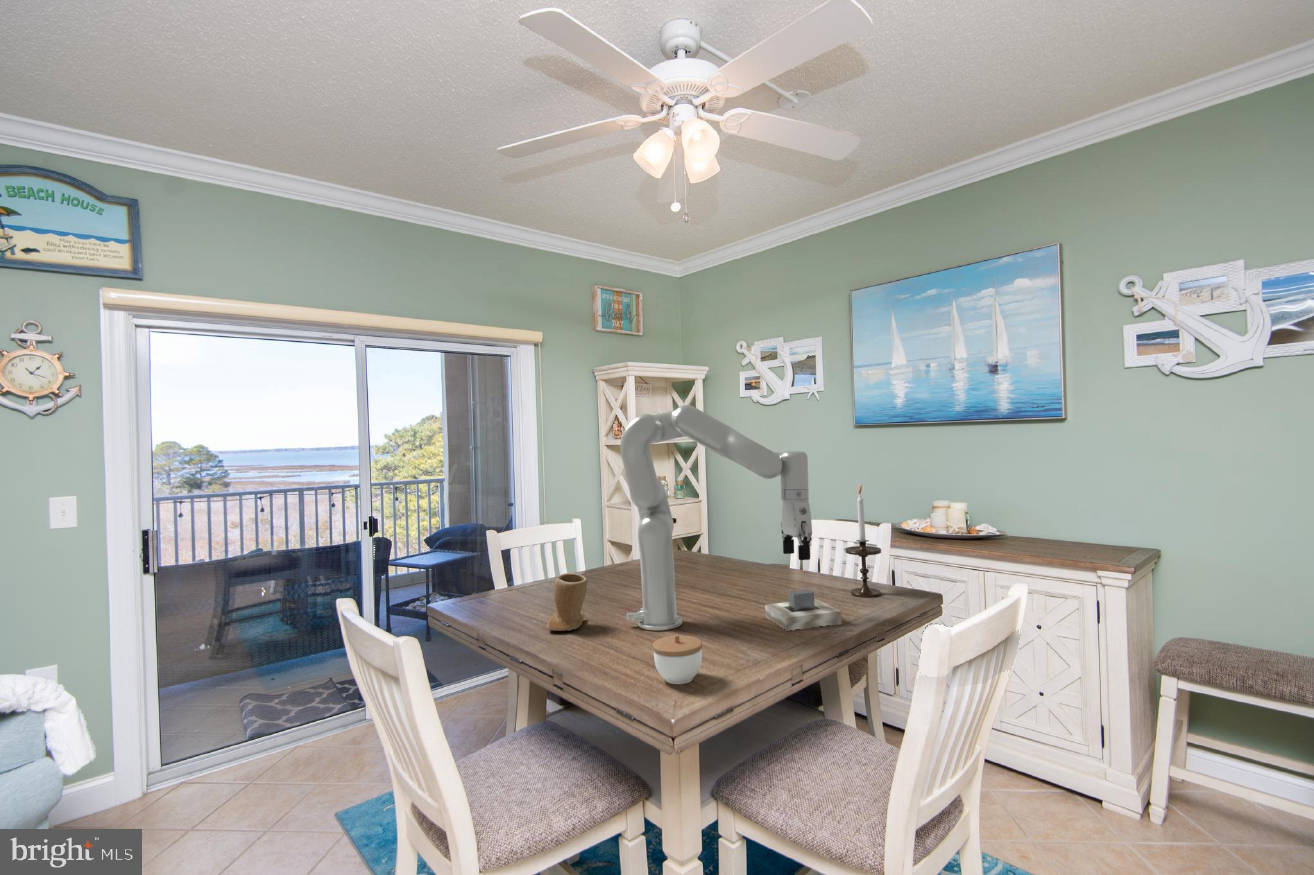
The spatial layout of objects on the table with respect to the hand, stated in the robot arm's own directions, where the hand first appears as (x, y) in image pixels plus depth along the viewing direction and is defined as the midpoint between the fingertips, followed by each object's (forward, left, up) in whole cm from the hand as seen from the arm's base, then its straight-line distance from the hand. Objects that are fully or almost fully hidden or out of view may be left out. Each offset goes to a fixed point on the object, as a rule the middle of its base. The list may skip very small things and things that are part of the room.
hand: (796, 556), depth 165 cm
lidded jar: (-42, -28, -18) cm, 54 cm away
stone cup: (-62, +21, -18) cm, 68 cm away
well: (+1, 0, -18) cm, 18 cm away
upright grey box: (+1, 0, -18) cm, 18 cm away
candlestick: (+32, +18, -18) cm, 41 cm away
